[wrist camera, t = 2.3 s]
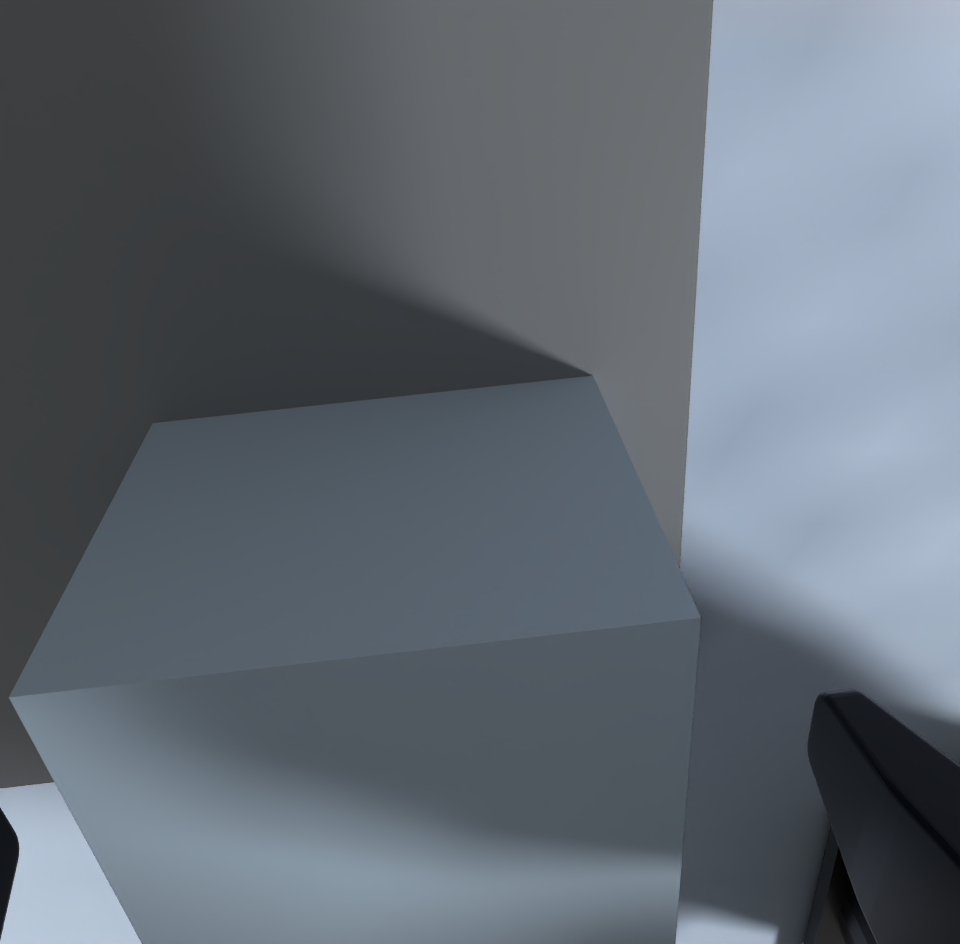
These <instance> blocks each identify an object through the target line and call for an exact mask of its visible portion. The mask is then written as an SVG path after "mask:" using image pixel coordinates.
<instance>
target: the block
mask: <svg viewBox="0 0 960 944" xmlns="http://www.w3.org/2000/svg"><path fill="white" fill-rule="evenodd" d="M700 627H701V616H700V614H699V612H698V609H697V607H696V605H695V603H694V600H693V598H692V596H691V594H690V591H689V589H688V587H687V585H686V582H685V580H684V578H683V576H682V574H681V571H680V569H679V567H678V565H677V562H676V560H675V558H674V556H673V553H672V551H671V549H670V547H669V544H668V542H667V540H666V538H665V535H664V533H663V531H662V529H661V526H660V524H659V522H658V520H657V518H656V515H655V513H654V511H653V509H652V506H651V504H650V502H649V500H648V497H647V495H646V493H645V491H644V488H643V486H642V484H641V482H640V479H639V477H638V475H637V473H636V470H635V468H634V466H633V464H632V462H631V459H630V457H629V455H628V453H627V450H626V448H625V446H624V444H623V441H622V439H621V437H620V435H619V432H618V430H617V428H616V426H615V423H614V421H613V419H612V417H611V414H610V412H609V410H608V408H607V406H606V403H605V401H604V399H603V397H602V394H601V392H600V390H599V388H598V385H597V383H596V381H595V379H594V376H584V377H574V378H565V379H556V380H547V381H538V382H528V383H519V384H510V385H501V386H491V387H482V388H473V389H464V390H454V391H445V392H436V393H427V394H417V395H408V396H399V397H390V398H380V399H371V400H362V401H353V402H343V403H334V404H325V405H316V406H306V407H297V408H288V409H279V410H269V411H260V412H251V413H242V414H232V415H223V416H214V417H205V418H195V419H186V420H177V421H168V422H158V423H152V425H151V427H150V429H149V431H148V433H147V435H146V437H145V439H144V441H143V443H142V444H141V446H140V448H139V450H138V452H137V454H136V456H135V458H134V460H133V462H132V464H131V465H130V467H129V469H128V471H127V473H126V475H125V477H124V479H123V481H122V483H121V484H120V486H119V488H118V490H117V492H116V494H115V496H114V498H113V500H112V502H111V504H110V505H109V507H108V509H107V511H106V513H105V515H104V517H103V519H102V521H101V523H100V524H99V526H98V528H97V530H96V532H95V534H94V536H93V538H92V540H91V542H90V544H89V545H88V547H87V549H86V551H85V553H84V555H83V557H82V559H81V561H80V563H79V565H78V566H77V568H76V570H75V572H74V574H73V576H72V578H71V580H70V582H69V584H68V585H67V587H66V589H65V591H64V593H63V595H62V597H61V599H60V601H59V603H58V605H57V606H56V608H55V610H54V612H53V614H52V616H51V618H50V620H49V622H48V624H47V626H46V627H45V629H44V631H43V633H42V635H41V637H40V639H39V641H38V643H37V645H36V646H35V648H34V650H33V652H32V654H31V656H30V658H29V660H28V662H27V664H26V666H25V667H24V669H23V671H22V673H21V675H20V677H19V679H18V681H17V683H16V685H15V687H14V688H13V690H12V692H11V694H10V696H9V699H10V701H11V703H12V705H13V706H14V708H15V710H16V712H17V714H18V716H19V717H20V719H21V721H22V723H23V725H24V727H25V729H26V730H27V732H28V734H29V736H30V738H31V740H32V741H33V743H34V745H35V747H36V749H37V751H38V753H39V754H40V756H41V758H42V760H43V762H44V764H45V765H46V767H47V769H48V771H49V773H50V775H51V777H52V778H53V780H54V782H55V784H56V786H57V788H58V789H59V791H60V793H61V795H62V797H63V799H64V800H65V802H66V804H67V806H68V808H69V810H70V812H71V813H72V815H73V817H74V819H75V821H76V823H77V824H78V826H79V828H80V830H81V832H82V834H83V836H84V837H85V839H86V841H87V843H88V845H89V847H90V848H91V850H92V852H93V854H94V856H95V858H96V860H97V861H98V863H99V865H100V867H101V869H102V871H103V872H104V874H105V876H106V878H107V880H108V882H109V884H110V885H111V887H112V889H113V891H114V893H115V895H116V896H117V898H118V900H119V902H120V904H121V906H122V908H123V909H124V911H125V913H126V915H127V917H128V919H129V920H130V922H131V924H132V926H133V928H134V930H135V932H136V933H137V935H138V937H139V939H140V941H141V943H142V944H675V941H676V928H677V916H678V903H679V891H680V878H681V865H682V853H683V840H684V828H685V815H686V803H687V790H688V777H689V765H690V752H691V740H692V727H693V715H694V702H695V689H696V677H697V664H698V652H699V639H700Z"/></svg>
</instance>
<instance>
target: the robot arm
mask: <svg viewBox="0 0 960 944" xmlns="http://www.w3.org/2000/svg"><path fill="white" fill-rule="evenodd" d="M808 756H809V760H810V764H811V767H812V770H813V773H814V776H815V779H816V782H817V785H818V788H819V791H820V794H821V796H822V799H823V802H824V805H825V808H826V811H827V814H828V817H829V820H830V823H831V828H830V832H829V837H828V841H827V846H826V850H825V854H824V859H823V863H822V867H821V872H820V876H819V880H818V885H817V889H816V893H815V898H814V902H813V907H812V911H811V915H810V920H809V924H808V928H807V933H806V937H805V941H804V944H960V765H958V764H957V763H956V762H954V761H953V760H952V759H950V758H949V757H948V756H946V755H945V754H944V753H942V752H941V751H940V750H938V749H937V748H936V747H934V746H933V745H932V744H930V743H929V742H928V741H926V740H925V739H923V738H922V737H921V736H919V735H918V734H917V733H915V732H914V731H913V730H911V729H910V728H909V727H907V726H906V725H905V724H903V723H902V722H901V721H899V720H898V719H897V718H895V717H894V716H893V715H891V714H890V713H889V712H887V711H886V710H885V709H883V708H882V707H881V706H879V705H878V704H877V703H875V702H874V701H873V700H871V699H870V698H869V697H867V696H866V695H865V694H863V693H861V692H859V691H857V690H853V689H847V690H839V691H830V692H823V693H821V694H820V695H819V696H818V697H817V698H816V701H815V705H814V710H813V716H812V721H811V727H810V732H809V737H808ZM18 857H19V842H18V838H17V835H16V833H15V831H14V829H13V828H12V826H11V824H10V823H9V821H8V819H7V818H6V816H5V815H4V813H3V811H2V810H1V808H0V939H1V934H2V930H3V925H4V921H5V916H6V912H7V908H8V903H9V899H10V894H11V890H12V885H13V881H14V876H15V872H16V867H17V863H18Z"/></svg>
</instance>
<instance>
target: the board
mask: <svg viewBox="0 0 960 944" xmlns="http://www.w3.org/2000/svg"><path fill="white" fill-rule="evenodd" d="M712 11H713V0H0V788H8V787H16V786H25V785H33V784H42V783H50V782H54V780H53V778H52V777H51V775H50V773H49V771H48V769H47V767H46V765H45V764H44V762H43V760H42V758H41V756H40V754H39V753H38V751H37V749H36V747H35V745H34V743H33V741H32V740H31V738H30V736H29V734H28V732H27V730H26V729H25V727H24V725H23V723H22V721H21V719H20V717H19V716H18V714H17V712H16V710H15V708H14V706H13V705H12V703H11V701H10V699H9V696H10V694H11V692H12V690H13V688H14V687H15V685H16V683H17V681H18V679H19V677H20V675H21V673H22V671H23V669H24V667H25V666H26V664H27V662H28V660H29V658H30V656H31V654H32V652H33V650H34V648H35V646H36V645H37V643H38V641H39V639H40V637H41V635H42V633H43V631H44V629H45V627H46V626H47V624H48V622H49V620H50V618H51V616H52V614H53V612H54V610H55V608H56V606H57V605H58V603H59V601H60V599H61V597H62V595H63V593H64V591H65V589H66V587H67V585H68V584H69V582H70V580H71V578H72V576H73V574H74V572H75V570H76V568H77V566H78V565H79V563H80V561H81V559H82V557H83V555H84V553H85V551H86V549H87V547H88V545H89V544H90V542H91V540H92V538H93V536H94V534H95V532H96V530H97V528H98V526H99V524H100V523H101V521H102V519H103V517H104V515H105V513H106V511H107V509H108V507H109V505H110V504H111V502H112V500H113V498H114V496H115V494H116V492H117V490H118V488H119V486H120V484H121V483H122V481H123V479H124V477H125V475H126V473H127V471H128V469H129V467H130V465H131V464H132V462H133V460H134V458H135V456H136V454H137V452H138V450H139V448H140V446H141V444H142V443H143V441H144V439H145V437H146V435H147V433H148V431H149V429H150V427H151V425H152V423H158V422H168V421H177V420H186V419H195V418H205V417H214V416H223V415H232V414H242V413H251V412H260V411H269V410H279V409H288V408H297V407H306V406H316V405H325V404H334V403H343V402H353V401H362V400H371V399H380V398H390V397H399V396H408V395H417V394H427V393H436V392H445V391H454V390H464V389H473V388H482V387H491V386H501V385H510V384H519V383H528V382H538V381H547V380H556V379H565V378H574V377H584V376H594V379H595V381H596V383H597V385H598V388H599V390H600V392H601V394H602V397H603V399H604V401H605V403H606V406H607V408H608V410H609V412H610V414H611V417H612V419H613V421H614V423H615V426H616V428H617V430H618V432H619V435H620V437H621V439H622V441H623V444H624V446H625V448H626V450H627V453H628V455H629V457H630V459H631V462H632V464H633V466H634V468H635V470H636V473H637V475H638V477H639V479H640V482H641V484H642V486H643V488H644V491H645V493H646V495H647V497H648V500H649V502H650V504H651V506H652V509H653V511H654V513H655V515H656V518H657V520H658V522H659V524H660V526H661V529H662V531H663V533H664V535H665V538H666V540H667V542H668V544H669V547H670V549H671V551H672V553H673V556H674V558H675V560H676V562H677V565H678V567H679V569H680V555H681V538H682V521H683V504H684V487H685V470H686V453H687V436H688V419H689V402H690V385H691V368H692V351H693V334H694V317H695V300H696V283H697V266H698V249H699V232H700V215H701V198H702V181H703V164H704V147H705V130H706V113H707V96H708V79H709V62H710V45H711V28H712Z"/></svg>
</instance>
